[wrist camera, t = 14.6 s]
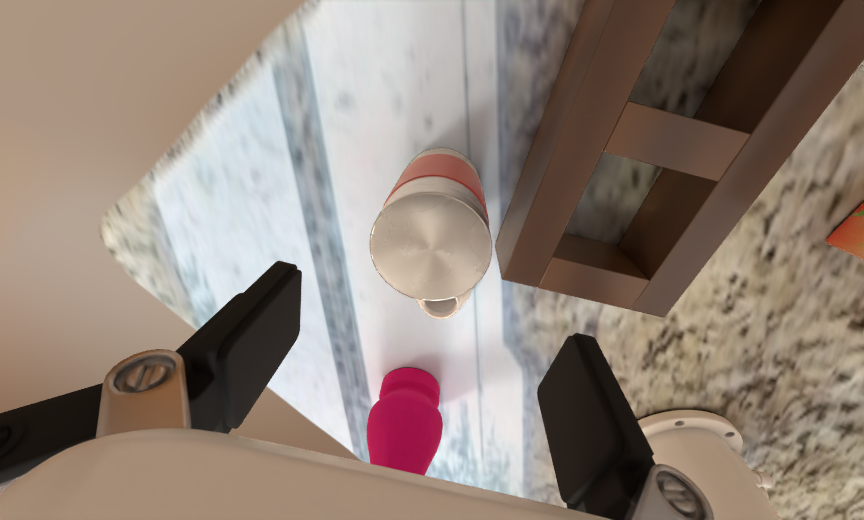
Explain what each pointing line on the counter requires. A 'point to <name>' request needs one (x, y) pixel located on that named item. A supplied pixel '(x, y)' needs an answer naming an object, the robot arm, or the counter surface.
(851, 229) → the cracker box
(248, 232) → the counter surface
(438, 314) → the cream small bowl
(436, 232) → the can
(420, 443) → the pepper mill
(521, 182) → the holder
